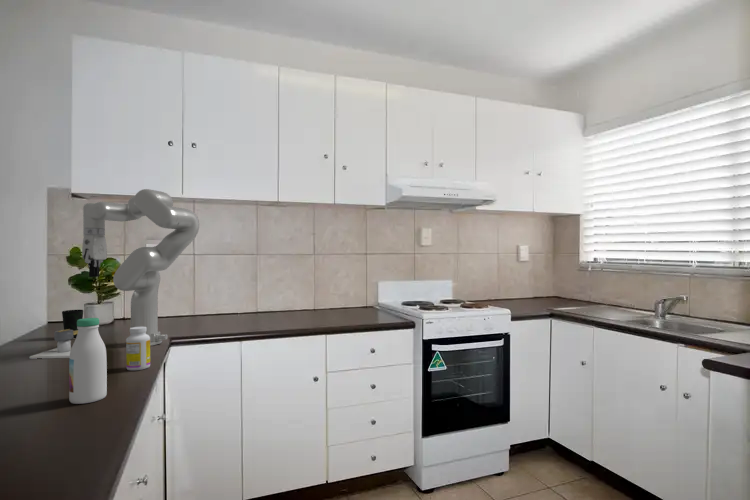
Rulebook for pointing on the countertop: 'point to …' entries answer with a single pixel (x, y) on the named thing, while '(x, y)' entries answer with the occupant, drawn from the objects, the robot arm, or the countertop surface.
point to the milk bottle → (87, 364)
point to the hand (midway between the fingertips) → (94, 276)
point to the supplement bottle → (138, 349)
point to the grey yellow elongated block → (64, 334)
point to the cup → (71, 319)
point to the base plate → (56, 351)
